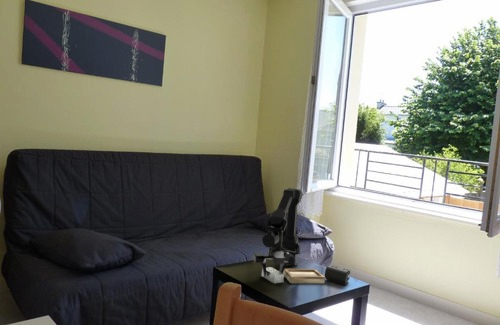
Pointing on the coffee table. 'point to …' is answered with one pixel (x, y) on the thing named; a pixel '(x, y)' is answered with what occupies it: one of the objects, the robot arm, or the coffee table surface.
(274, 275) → the block
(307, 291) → the coffee table surface
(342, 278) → the end cap
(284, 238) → the robot arm
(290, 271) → the beech stand
